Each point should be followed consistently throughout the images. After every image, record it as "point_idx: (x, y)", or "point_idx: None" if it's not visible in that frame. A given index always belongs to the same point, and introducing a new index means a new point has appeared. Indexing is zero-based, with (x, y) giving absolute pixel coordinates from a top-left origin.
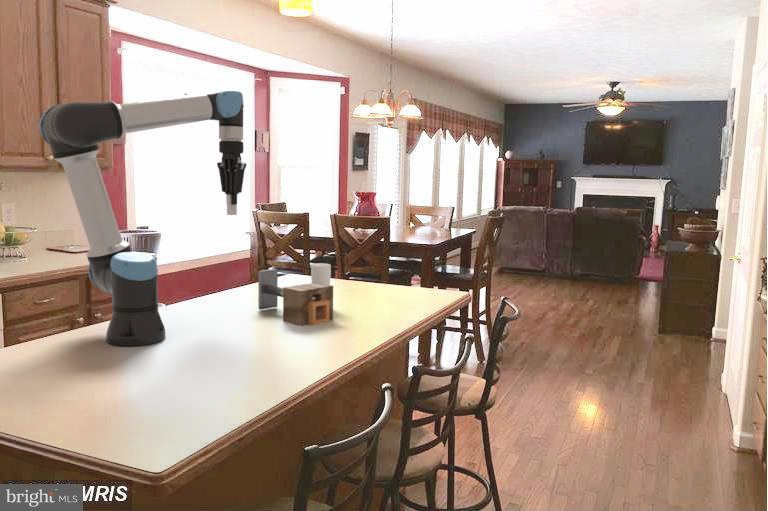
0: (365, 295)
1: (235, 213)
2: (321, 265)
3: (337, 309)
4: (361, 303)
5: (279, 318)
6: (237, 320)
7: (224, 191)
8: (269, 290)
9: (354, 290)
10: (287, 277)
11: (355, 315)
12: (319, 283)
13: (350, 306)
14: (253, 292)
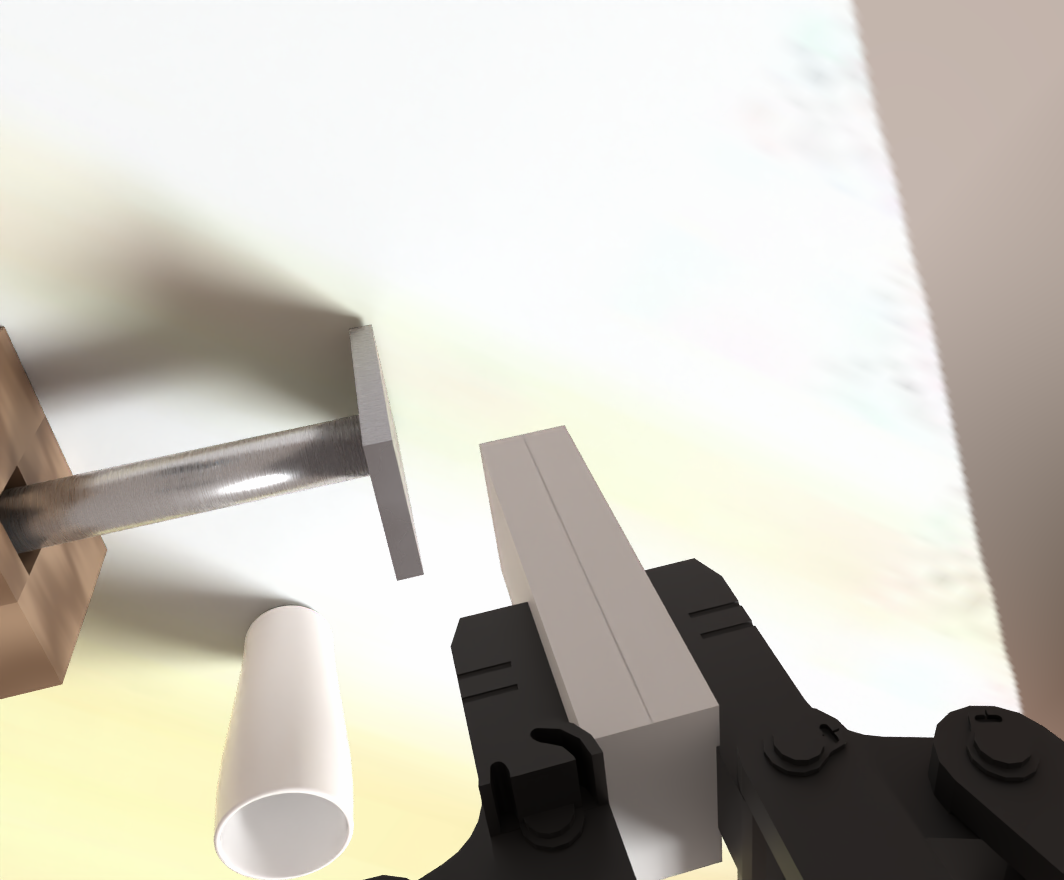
0: None
1: (504, 564)
2: (339, 838)
3: (191, 680)
4: None
5: (98, 340)
6: (154, 80)
7: (931, 750)
8: (319, 427)
9: None
10: None
11: (4, 702)
12: (12, 687)
13: None
14: (825, 484)
